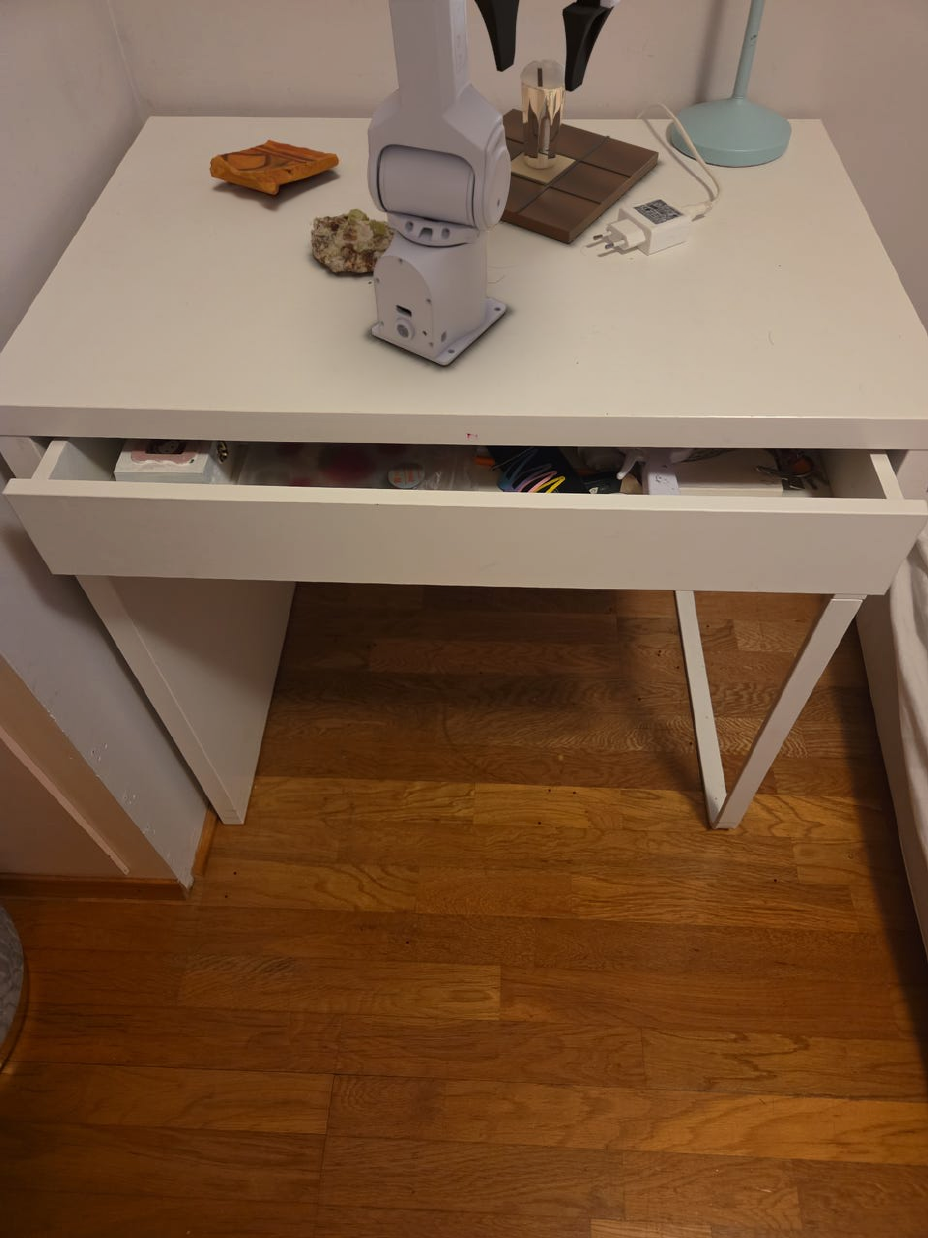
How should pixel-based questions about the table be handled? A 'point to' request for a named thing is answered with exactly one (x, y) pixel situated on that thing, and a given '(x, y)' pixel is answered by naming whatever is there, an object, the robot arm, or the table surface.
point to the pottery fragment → (270, 165)
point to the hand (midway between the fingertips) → (538, 77)
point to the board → (569, 179)
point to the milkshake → (542, 111)
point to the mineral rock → (350, 241)
